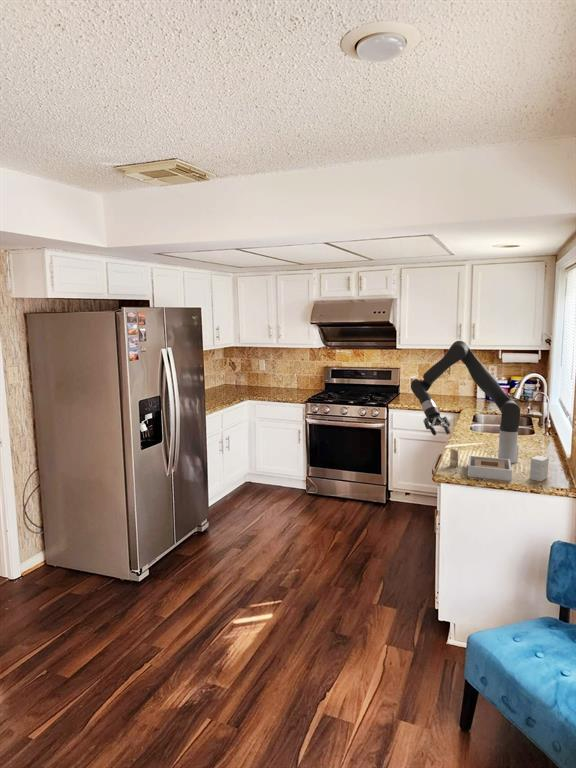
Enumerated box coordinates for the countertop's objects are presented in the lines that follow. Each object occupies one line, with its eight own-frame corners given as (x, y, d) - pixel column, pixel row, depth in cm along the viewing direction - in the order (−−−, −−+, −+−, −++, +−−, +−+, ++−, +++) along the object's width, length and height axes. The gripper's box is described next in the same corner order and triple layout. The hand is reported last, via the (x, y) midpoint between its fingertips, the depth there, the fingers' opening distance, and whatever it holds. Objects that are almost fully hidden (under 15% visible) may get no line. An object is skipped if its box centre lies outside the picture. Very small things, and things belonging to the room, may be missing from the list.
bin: (468, 465, 275) (469, 455, 274) (509, 469, 268) (510, 459, 267) (467, 476, 257) (468, 465, 256) (511, 481, 250) (511, 470, 249)
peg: (454, 465, 276) (455, 448, 274) (459, 467, 272) (460, 450, 271) (448, 465, 274) (449, 449, 273) (452, 468, 271) (453, 451, 269)
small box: (535, 475, 259) (537, 455, 257) (547, 478, 255) (549, 457, 253) (529, 479, 253) (530, 458, 252) (540, 481, 249) (542, 460, 248)
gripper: (422, 406, 286) (433, 431, 277) (444, 405, 290) (456, 429, 281) (416, 414, 291) (427, 438, 282) (438, 412, 296) (449, 436, 287)
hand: (441, 434), depth 282 cm, fingers open, 8 cm apart
